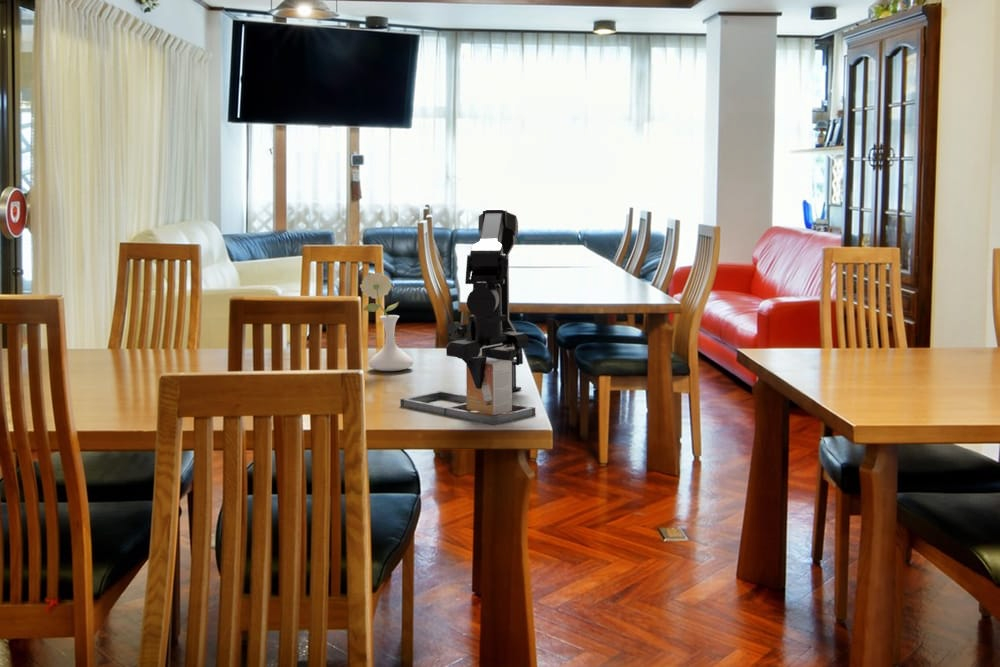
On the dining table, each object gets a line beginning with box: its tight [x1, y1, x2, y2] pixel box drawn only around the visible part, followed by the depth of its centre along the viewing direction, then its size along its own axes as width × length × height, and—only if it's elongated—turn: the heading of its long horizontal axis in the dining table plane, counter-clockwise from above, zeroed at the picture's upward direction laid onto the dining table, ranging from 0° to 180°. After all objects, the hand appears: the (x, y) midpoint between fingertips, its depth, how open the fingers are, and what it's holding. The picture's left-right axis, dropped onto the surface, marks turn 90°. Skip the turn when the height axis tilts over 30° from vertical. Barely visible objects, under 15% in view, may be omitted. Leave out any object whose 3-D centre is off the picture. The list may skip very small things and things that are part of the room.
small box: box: [465, 357, 513, 415], centre depth 221 cm, size 8×6×10 cm
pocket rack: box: [399, 390, 536, 426], centre depth 226 cm, size 12×28×2 cm, turn 46°
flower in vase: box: [359, 271, 414, 372], centre depth 274 cm, size 13×11×25 cm
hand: (489, 386), depth 221 cm, fingers closed on small box, 6 cm apart
